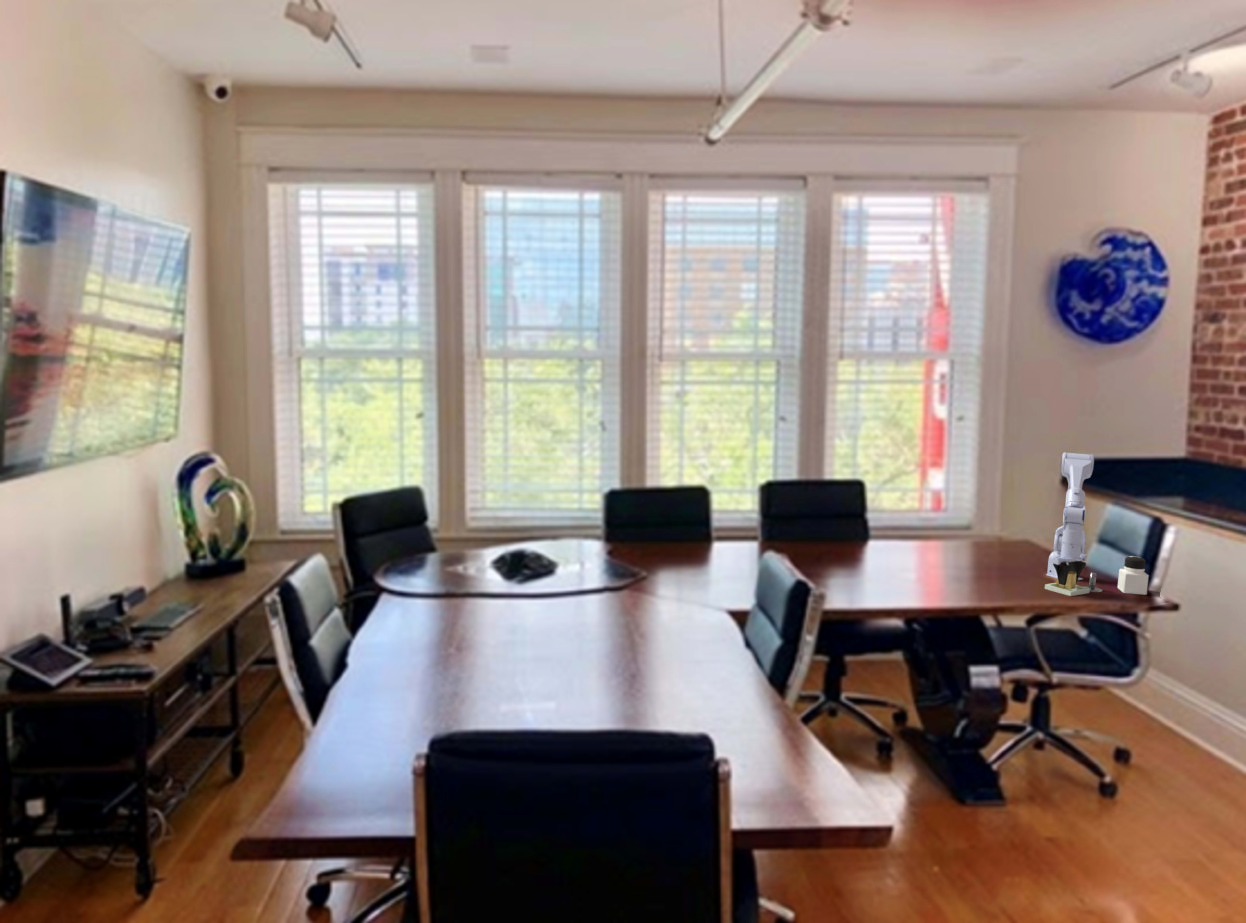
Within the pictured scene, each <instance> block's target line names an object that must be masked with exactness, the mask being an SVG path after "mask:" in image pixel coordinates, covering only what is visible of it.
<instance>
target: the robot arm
mask: <svg viewBox="0 0 1246 923" xmlns="http://www.w3.org/2000/svg"><path fill="white" fill-rule="evenodd" d="M1061 458H1062V459H1061V472H1060V473H1061V476H1063V477H1064V478H1066V480H1067V483H1068V485H1067V486H1068V487H1067V491H1066V492H1065V494H1066V495H1065V504H1064V505H1065V506H1064V508H1063V513H1062V514H1063V515H1062V525H1061V526H1059V527H1057V529H1056V530H1055V534H1054V542H1053V551H1052V552H1051V553H1050V554H1049V556H1048V560H1047V562H1048V563H1047V573H1046V574H1045V575H1046V576H1049V577H1052V578H1055V579H1058V582H1059V584H1061V585H1066V582H1067V577H1068V573H1069V571H1072V572H1076V584H1077V582H1078V581H1080V580H1084V578H1082V577H1080V576H1081V573H1082V572H1083V570H1084V568H1085V567H1086V566H1087V563H1086V561H1087V560H1088V558H1087V557H1088V555H1087V554H1085V552H1086V542H1087V539H1086V537H1087V533H1086V532H1085V530H1084V526H1085V523H1086V516H1087V515H1086V514H1087V510H1086V505H1085V504H1086V493H1085V491H1084V490H1083V484H1084V481H1085V480H1086V479H1089V478H1091V476H1092V474H1093V471H1094V466H1095V465H1094V464H1095V456H1094V454H1092V453H1091V454H1090V453H1089V454H1087V453H1075V452H1074V453H1073V452H1067V451H1064V452H1063V453H1062V457H1061Z"/></svg>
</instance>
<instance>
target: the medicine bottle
mask: <svg viewBox="0 0 1246 923" xmlns="http://www.w3.org/2000/svg"><path fill="white" fill-rule="evenodd" d="M1146 562H1147V561H1146V559H1144V558H1143V557H1140V556H1134V555H1131V556H1130V555H1129V556H1126V557H1125V558H1124V566H1123V568H1119V571H1118V577H1117V578H1118V579H1117V589H1118V590H1119V591H1121V592H1122V593H1123V594H1131V595H1132V594H1133V595H1144V596H1145V595H1146V596H1147V595H1148V587H1149V577H1150V575H1149V574H1147V573H1146V572H1145V570H1146Z"/></svg>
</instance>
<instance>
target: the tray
mask: <svg viewBox="0 0 1246 923" xmlns="http://www.w3.org/2000/svg"><path fill="white" fill-rule="evenodd" d="M1044 589H1045V590H1048V591H1050V592H1055V593H1058V594H1062V595H1065V596H1068V597H1073V596H1074V597H1075V596H1079V595H1080V596H1081V595H1085V594H1090V592H1091V591H1090V589H1089V588H1085V586H1081V585H1077V584H1076V587H1075V589H1064V588H1060V587H1058V585H1056V582H1053V583H1046V584H1044Z"/></svg>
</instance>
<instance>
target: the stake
mask: <svg viewBox="0 0 1246 923" xmlns="http://www.w3.org/2000/svg"><path fill="white" fill-rule="evenodd" d="M1096 580H1097V573H1096V572H1090V575H1089V583H1088V586H1084V587H1085V588H1089V589H1090V592H1094V593H1096V592H1097V593H1100V592H1103V589H1102V588H1099V587H1096Z"/></svg>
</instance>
